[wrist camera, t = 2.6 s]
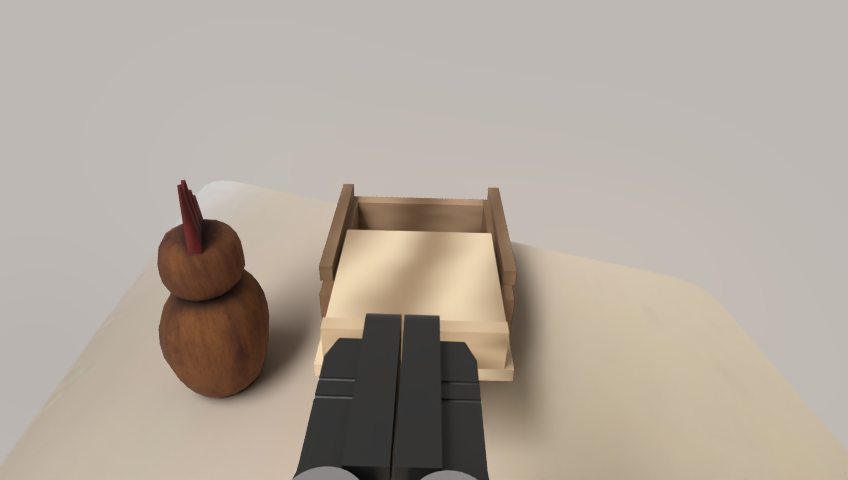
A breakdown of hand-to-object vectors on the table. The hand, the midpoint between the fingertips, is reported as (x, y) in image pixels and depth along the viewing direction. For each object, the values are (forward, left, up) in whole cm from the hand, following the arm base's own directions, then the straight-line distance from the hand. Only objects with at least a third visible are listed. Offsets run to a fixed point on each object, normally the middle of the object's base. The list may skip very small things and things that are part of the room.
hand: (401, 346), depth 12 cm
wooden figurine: (+12, -18, -20) cm, 30 cm away
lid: (0, -18, -13) cm, 22 cm away
